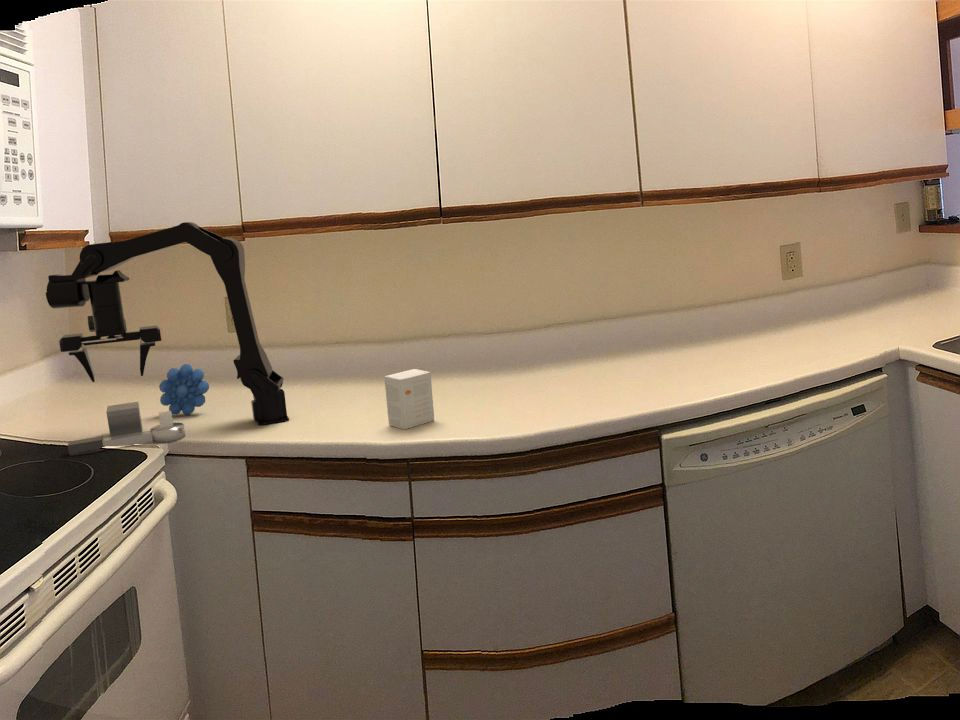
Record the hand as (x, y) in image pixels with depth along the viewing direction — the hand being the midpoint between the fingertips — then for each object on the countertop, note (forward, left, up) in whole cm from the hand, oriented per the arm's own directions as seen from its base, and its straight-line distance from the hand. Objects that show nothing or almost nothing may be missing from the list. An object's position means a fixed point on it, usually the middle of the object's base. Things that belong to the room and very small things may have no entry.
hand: (118, 378), depth 155 cm
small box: (-54, +30, -12) cm, 63 cm away
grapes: (-13, -9, -12) cm, 20 cm away
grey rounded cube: (0, 0, -12) cm, 12 cm away
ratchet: (-1, +10, -12) cm, 15 cm away
